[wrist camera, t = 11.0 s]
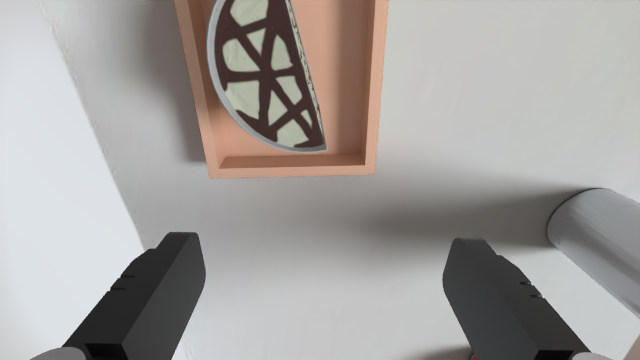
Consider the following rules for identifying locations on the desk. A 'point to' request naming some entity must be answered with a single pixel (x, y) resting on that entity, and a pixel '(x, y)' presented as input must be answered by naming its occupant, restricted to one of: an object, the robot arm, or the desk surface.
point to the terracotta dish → (329, 81)
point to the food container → (264, 73)
